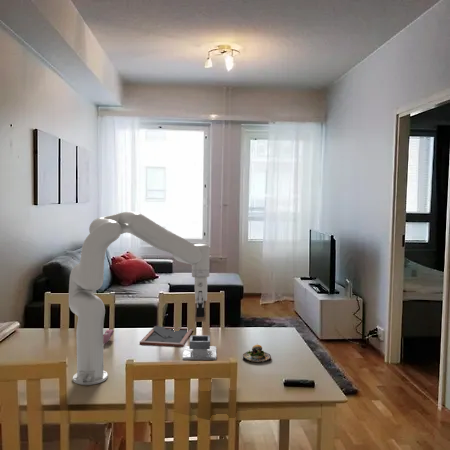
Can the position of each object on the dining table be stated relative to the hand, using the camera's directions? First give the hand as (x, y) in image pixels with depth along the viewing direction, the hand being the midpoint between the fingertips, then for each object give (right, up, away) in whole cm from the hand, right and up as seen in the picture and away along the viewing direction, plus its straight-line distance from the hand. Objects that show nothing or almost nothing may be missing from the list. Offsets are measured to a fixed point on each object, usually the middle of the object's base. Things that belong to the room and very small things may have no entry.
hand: (200, 314), depth 205 cm
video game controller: (-44, -16, +15) cm, 49 cm away
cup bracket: (0, -17, +1) cm, 17 cm away
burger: (+24, -18, -4) cm, 30 cm away
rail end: (0, -2, 0) cm, 2 cm away
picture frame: (-17, -16, +24) cm, 33 cm away
